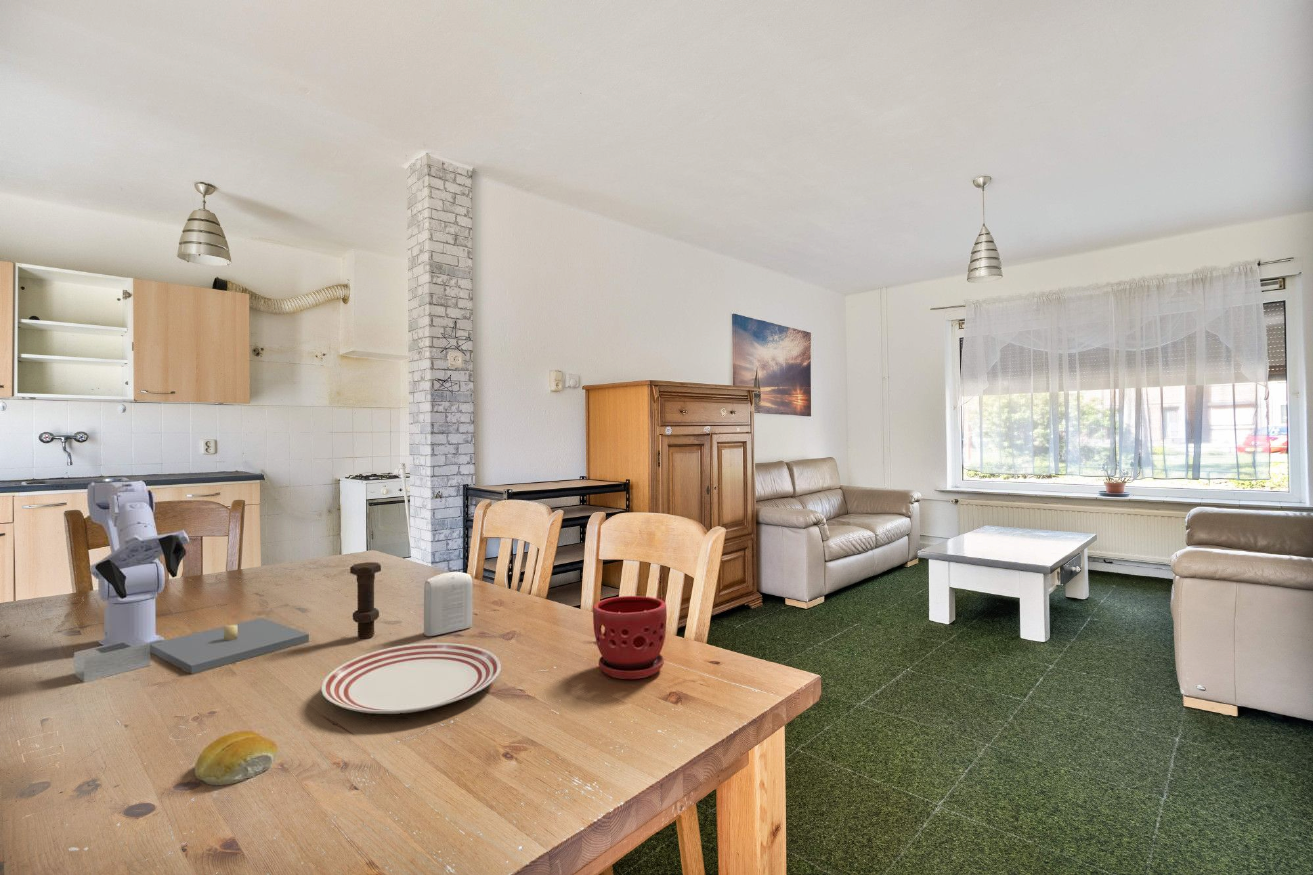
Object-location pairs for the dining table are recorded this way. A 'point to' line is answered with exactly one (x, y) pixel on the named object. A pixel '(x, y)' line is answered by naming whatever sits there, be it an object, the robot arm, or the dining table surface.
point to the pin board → (227, 644)
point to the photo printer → (447, 603)
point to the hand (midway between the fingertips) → (147, 584)
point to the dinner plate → (410, 678)
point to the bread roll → (235, 758)
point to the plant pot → (630, 635)
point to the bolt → (365, 598)
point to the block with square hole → (111, 659)
